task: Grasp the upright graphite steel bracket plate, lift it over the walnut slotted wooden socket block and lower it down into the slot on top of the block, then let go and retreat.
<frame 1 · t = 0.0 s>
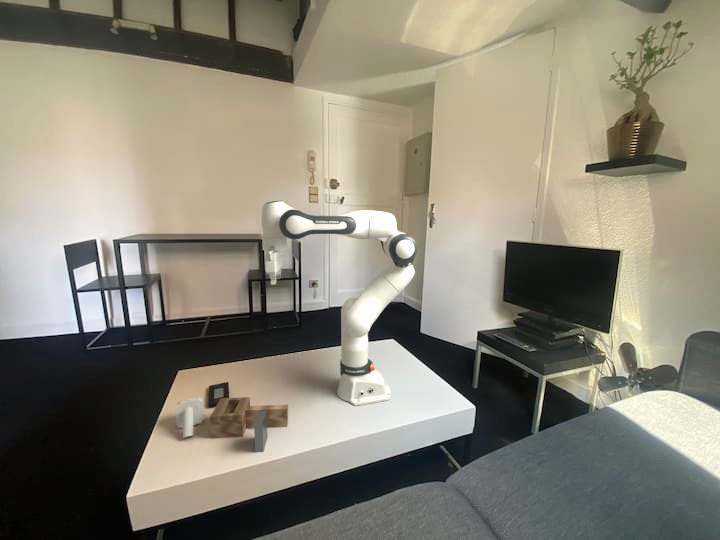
hand: (276, 281, 114), 48 cm above the table, fingers open, 8 cm apart
wall hook: (190, 429, 102), on the table
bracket: (261, 444, 96), on the table
vhs tape: (219, 397, 121), on the table
slotted wooden socket block: (232, 427, 104), on the table
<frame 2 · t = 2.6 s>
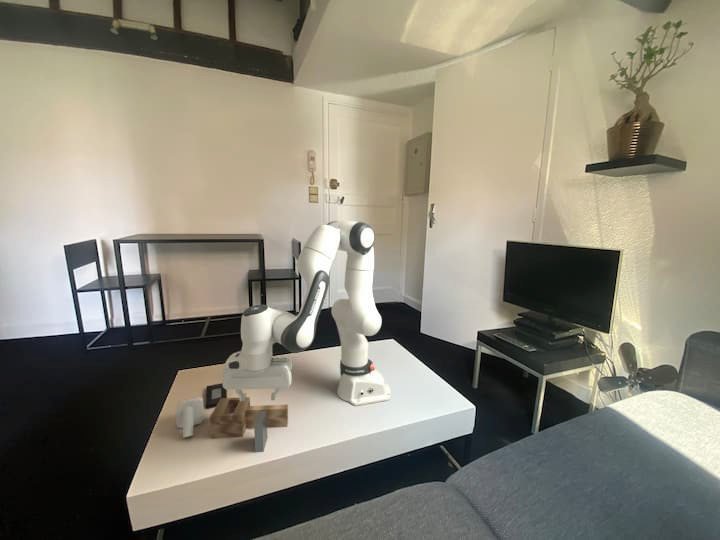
hand: (258, 399, 93), 16 cm above the table, fingers open, 8 cm apart
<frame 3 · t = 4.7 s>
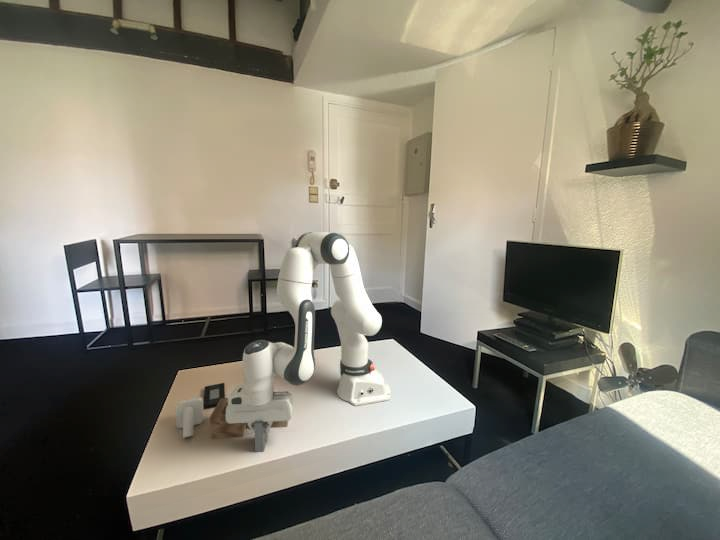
hand: (261, 431, 95), 5 cm above the table, fingers closed on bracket, 2 cm apart
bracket: (261, 444, 96), on the table, touching gripper
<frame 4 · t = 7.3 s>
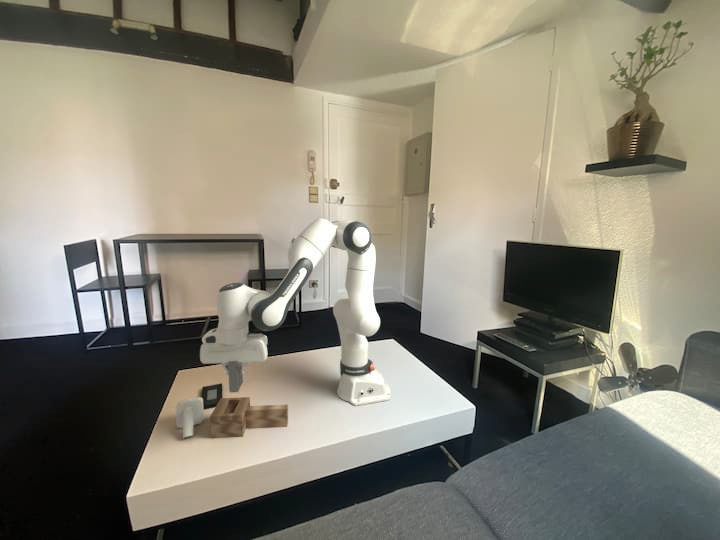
hand: (235, 374, 97), 22 cm above the table, fingers closed on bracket, 2 cm apart
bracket: (236, 387, 98), point 17 cm above the table, touching gripper
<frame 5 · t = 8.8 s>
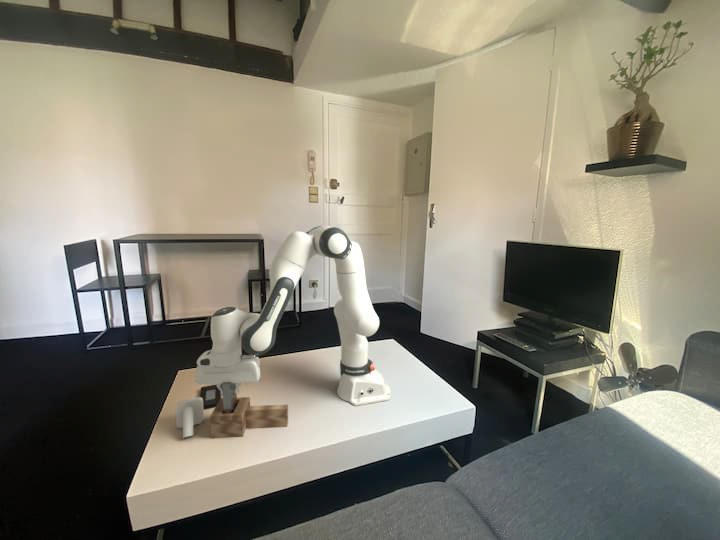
hand: (229, 393, 101), 13 cm above the table, fingers closed on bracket, 2 cm apart
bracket: (230, 405, 102), point 8 cm above the table, touching gripper
when the fingers open (10 cm above the table, at t = 9.9 s): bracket stays where it is, resting on slotted wooden socket block.
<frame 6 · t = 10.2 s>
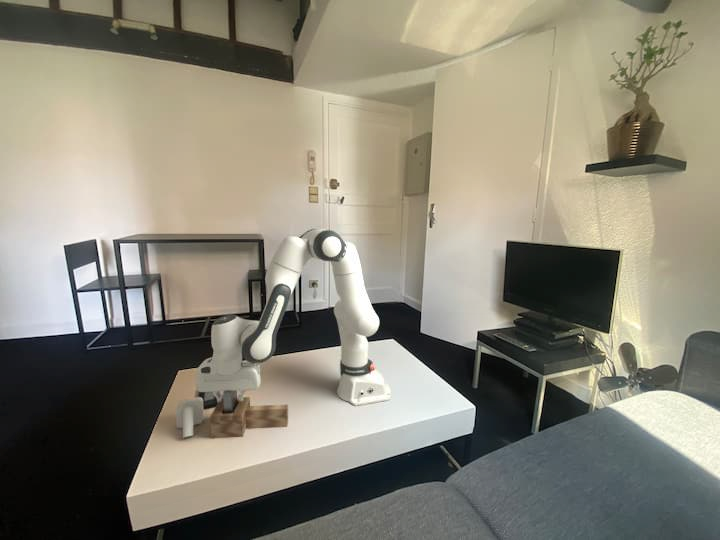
hand: (230, 400, 102), 10 cm above the table, fingers open, 5 cm apart
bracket: (231, 414, 103), point 5 cm above the table, touching slotted wooden socket block
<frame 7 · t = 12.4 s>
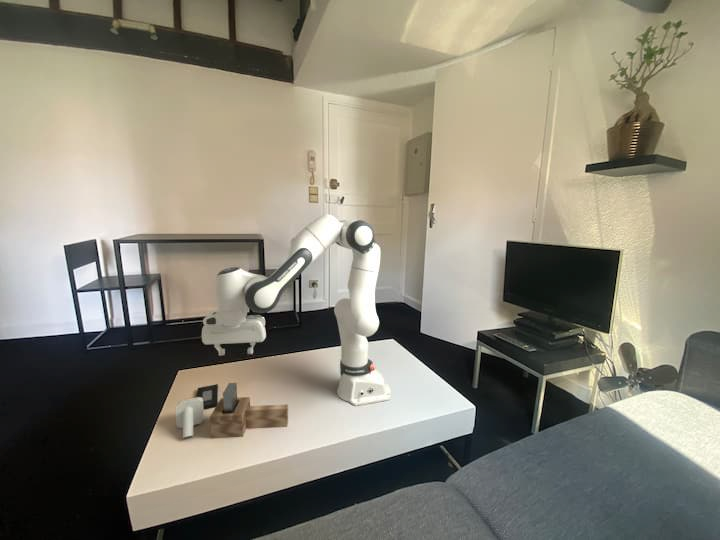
hand: (236, 354, 103), 26 cm above the table, fingers open, 8 cm apart
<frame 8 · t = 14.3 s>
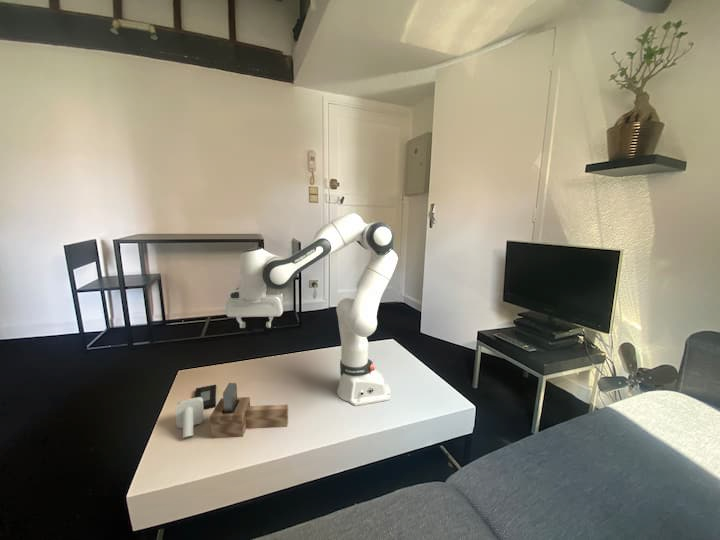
hand: (255, 327, 112), 31 cm above the table, fingers open, 8 cm apart
at the end: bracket 0.1 cm off-centre on the slotted wooden socket block, point 5.0 cm above the slotted wooden socket block's base; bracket tilted 0°; the gripper is holding nothing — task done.
